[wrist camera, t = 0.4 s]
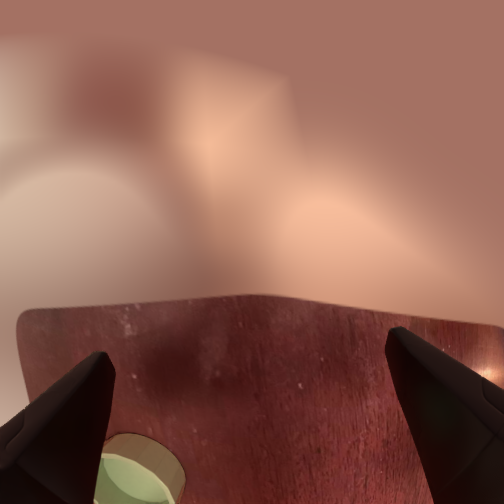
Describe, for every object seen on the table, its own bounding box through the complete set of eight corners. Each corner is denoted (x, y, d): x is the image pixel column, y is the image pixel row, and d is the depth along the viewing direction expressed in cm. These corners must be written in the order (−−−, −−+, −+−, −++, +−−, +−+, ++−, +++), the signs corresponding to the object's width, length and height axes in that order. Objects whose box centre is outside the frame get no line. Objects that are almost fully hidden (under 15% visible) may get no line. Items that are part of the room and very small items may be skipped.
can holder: (204, 487, 22) (196, 515, 17) (141, 510, 21) (127, 534, 17) (144, 419, 23) (124, 439, 18) (86, 449, 22) (64, 468, 18)
